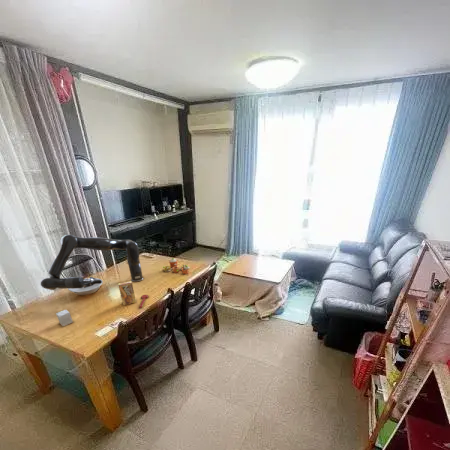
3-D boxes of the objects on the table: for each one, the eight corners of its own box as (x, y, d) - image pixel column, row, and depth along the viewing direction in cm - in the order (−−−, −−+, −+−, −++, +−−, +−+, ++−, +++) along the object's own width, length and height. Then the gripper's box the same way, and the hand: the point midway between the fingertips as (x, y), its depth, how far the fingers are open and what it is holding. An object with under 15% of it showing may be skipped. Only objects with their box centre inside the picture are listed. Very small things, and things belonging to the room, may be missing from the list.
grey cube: (73, 322, 160) (69, 312, 156) (62, 326, 156) (58, 316, 152) (69, 318, 163) (65, 309, 160) (59, 323, 159) (55, 313, 156)
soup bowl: (110, 291, 196) (108, 283, 193) (77, 303, 181) (74, 295, 178) (97, 282, 211) (94, 275, 208) (65, 293, 196) (63, 285, 192)
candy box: (135, 299, 184) (131, 280, 176) (136, 302, 181) (132, 282, 173) (122, 302, 180) (117, 283, 173) (123, 305, 177) (118, 285, 170)
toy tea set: (161, 271, 229) (159, 261, 225) (170, 265, 242) (169, 255, 237) (186, 275, 220) (185, 265, 216) (195, 269, 233) (194, 259, 228)
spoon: (142, 296, 189) (142, 294, 188) (148, 295, 189) (148, 294, 188) (137, 308, 174) (136, 306, 173) (143, 307, 174) (143, 306, 173)
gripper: (68, 282, 163) (96, 280, 164) (77, 273, 174) (103, 272, 175) (72, 292, 167) (99, 290, 167) (80, 283, 178) (105, 282, 179)
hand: (101, 281), depth 171 cm, fingers closed
